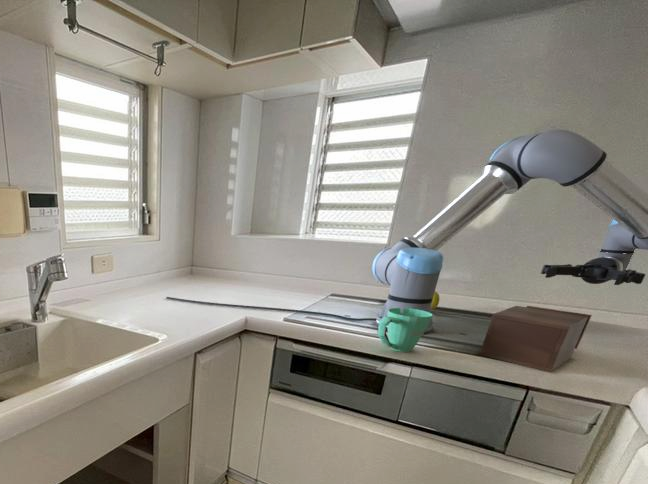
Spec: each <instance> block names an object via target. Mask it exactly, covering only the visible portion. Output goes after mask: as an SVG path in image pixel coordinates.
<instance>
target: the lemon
mask: <svg viewBox="0 0 648 484" xmlns="http://www.w3.org/2000/svg"><path fill="white" fill-rule="evenodd" d="M439 303H440V293H439V292H437V291H436V290H435V292H434V296H433V299H432V303H431V311H432V310H435V309H436V308H438V306H439Z"/></svg>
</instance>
